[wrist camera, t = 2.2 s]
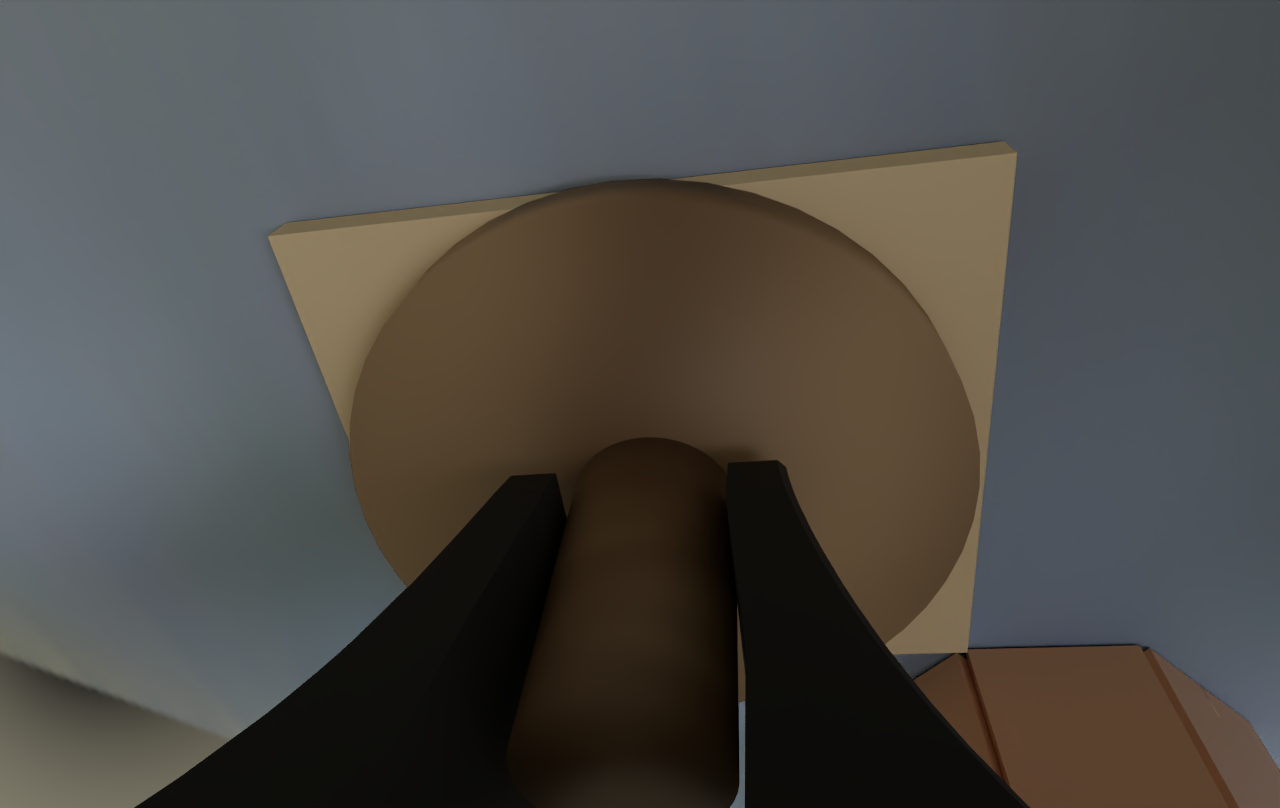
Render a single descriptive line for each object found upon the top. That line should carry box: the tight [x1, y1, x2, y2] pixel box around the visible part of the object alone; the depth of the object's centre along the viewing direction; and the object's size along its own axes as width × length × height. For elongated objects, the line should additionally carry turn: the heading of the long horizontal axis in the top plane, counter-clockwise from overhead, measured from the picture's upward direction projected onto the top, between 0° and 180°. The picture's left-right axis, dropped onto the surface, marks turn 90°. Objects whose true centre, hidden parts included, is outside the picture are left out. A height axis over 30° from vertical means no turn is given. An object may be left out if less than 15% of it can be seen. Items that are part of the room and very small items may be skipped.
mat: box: [268, 141, 1017, 654], centre depth 12 cm, size 9×8×1 cm
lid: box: [350, 179, 980, 808], centre depth 10 cm, size 8×8×5 cm
